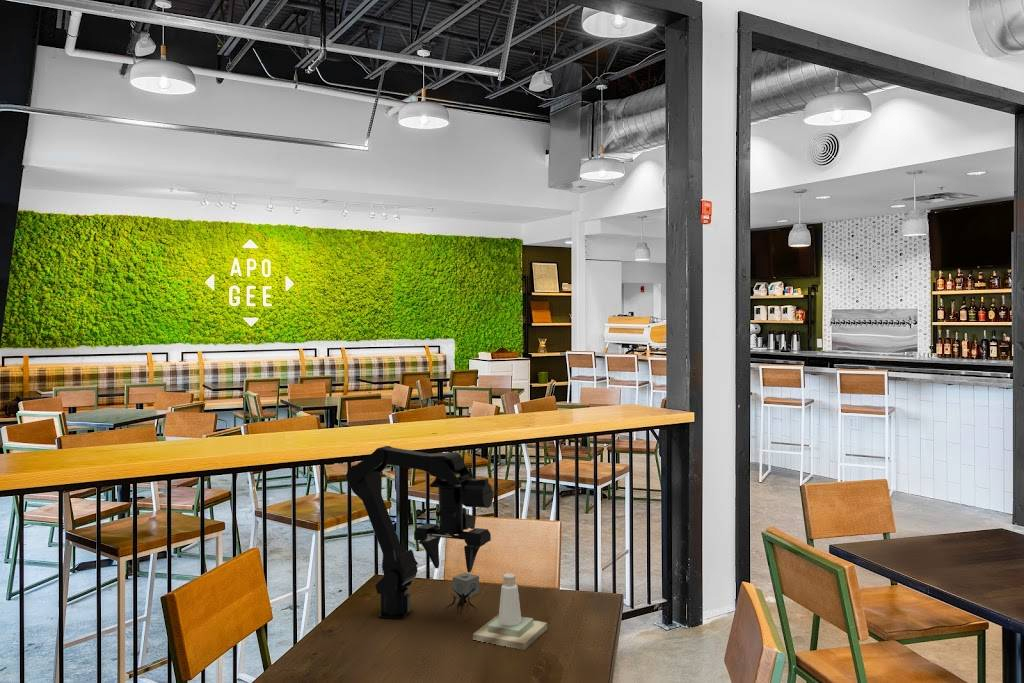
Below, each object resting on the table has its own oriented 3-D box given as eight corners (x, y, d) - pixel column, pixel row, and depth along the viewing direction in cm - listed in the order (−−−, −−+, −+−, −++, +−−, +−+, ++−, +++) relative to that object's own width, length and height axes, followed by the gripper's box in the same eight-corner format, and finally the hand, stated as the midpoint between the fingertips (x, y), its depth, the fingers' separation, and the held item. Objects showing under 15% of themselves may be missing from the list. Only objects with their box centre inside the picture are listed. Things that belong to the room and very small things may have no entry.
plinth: (472, 640, 171) (472, 627, 171) (498, 620, 183) (497, 608, 183) (524, 650, 166) (524, 636, 166) (547, 629, 178) (547, 616, 178)
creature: (475, 620, 186) (479, 602, 194) (474, 601, 185) (478, 583, 193) (444, 620, 187) (449, 601, 195) (442, 600, 186) (448, 583, 194)
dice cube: (452, 595, 201) (452, 577, 201) (465, 590, 205) (465, 572, 205) (466, 599, 198) (466, 580, 198) (479, 594, 202) (478, 575, 202)
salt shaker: (521, 617, 177) (520, 570, 177) (521, 626, 172) (521, 578, 172) (498, 617, 177) (497, 571, 177) (498, 626, 172) (497, 578, 172)
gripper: (500, 501, 185) (502, 564, 185) (436, 496, 193) (438, 557, 193) (477, 511, 175) (480, 578, 175) (411, 505, 183) (413, 569, 183)
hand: (453, 570), depth 182 cm, fingers open, 9 cm apart
